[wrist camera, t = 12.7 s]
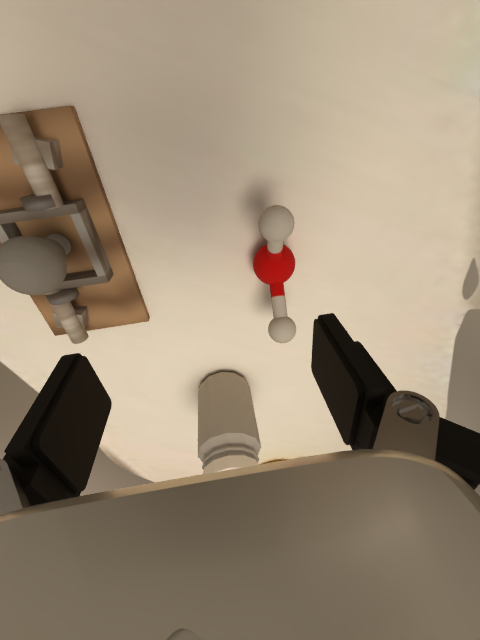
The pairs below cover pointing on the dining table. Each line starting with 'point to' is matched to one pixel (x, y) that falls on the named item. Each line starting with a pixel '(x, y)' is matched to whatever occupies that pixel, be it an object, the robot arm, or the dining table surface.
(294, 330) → the molecular model
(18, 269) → the light bulb
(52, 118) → the shaft bench
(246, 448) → the jar
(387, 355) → the dining table surface
